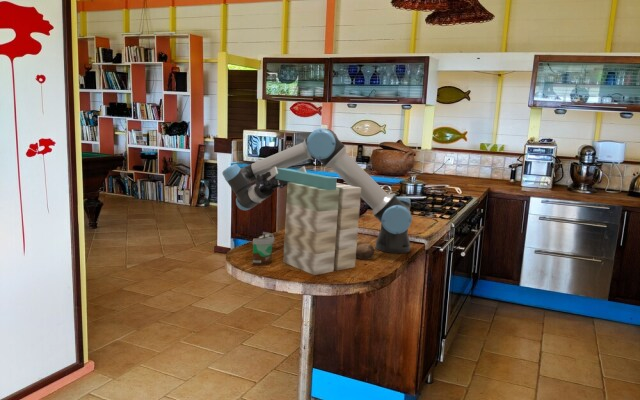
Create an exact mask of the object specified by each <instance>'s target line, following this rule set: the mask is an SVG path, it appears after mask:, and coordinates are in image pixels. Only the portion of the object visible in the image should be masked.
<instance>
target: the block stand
mask: <svg viewBox="0 0 640 400" xmlns="http://www.w3.org/2000/svg"><path fill="white" fill-rule="evenodd" d="M286 191H287V192H286V193H287V194H286V206H285V207H286V209H285V223H284V242H283V243H284V244H283V256H282V257H283V258H282V259H283V261H282V262H283V263H284V264H287V265H290V266H291V267H293V268H297V269H298V270H302V271H303V272H306V273H308V274H309V275H310V274H311V275H313V276H316V275H317V276H318V275H321V274H327V273H331V272H334V270H335V271H337V272H338V271H341V270H346V269H352V268H355V267H356V259H357V257H356V247H357V245H358V233H359V223H360V222H359V220H360V210H361V209H360V208H361V188H360V187H355V186H350V185H348V184H344V183H339V182H337V184H336V190H325V189H321V188H316V187H311V186H307V185H302V184H298V183H288V185H287V186H286Z"/></svg>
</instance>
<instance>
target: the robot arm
mask: <svg viewBox="0 0 640 400" xmlns="http://www.w3.org/2000/svg"><path fill="white" fill-rule="evenodd" d="M346 147H347V146H346V145H345V144H343V142H342V141H341V140H340V139H339V137H338V136H337V134H336V133H335V132H334V131H333V130H331V129H330V128H329V129H328V128H317V129H314V130H313V131H312V132H311V133H310V134H309V135H308V137H306V138H304V140H303V142H300V143H298V144H296V145H293V146H291V147H288V148H286V149H284V150H282V151H279V152H277V153H275V154H272V155H270V156H267V157H265V158H262V159H260V160H257V161H256V162H253V163H250V164H248V165H245V166H243V167H240V166H239V165H238V164H237V163H234V164H232V165H230V166H228V167H226V168H225V169H224V170H223V171H222V176H223V178H224V180H225V181H226V182H227V184H228V185H229V187H230V188H231V190H232V191H233V192H234V194H235V196H236V198H235V204H236V206H237V207H238V209H240V210H241V211H243V212H244V211H245V212H246V211H248V210H251V209H253V208H254V207H256V206H257V205H258V204H261V203H262V202H263V201H265V200H266V199H268V198H269V197H271V196H272V195H273V194H274V193H275V190H277V189H278V188H280V189H283V188H285V187H287V186H288V183H293V182H289V181H284V180H279V179H275V178H274V177H275V175H277V174H278V171H277V168H286V169H289V168H290V167H292V166H295V165H298V164H300V163H302V162H305V161H307V160H309V159H310V160H315V159H317V160H318V161H319V162H320V163H321V164H322V165H323V166H324V167H325V168H331V169H332V170H333V171H334V172H335V173H336V174H337V175H338V177H340V178H341V179H342V180H343V181H344V182H345V183H346V185H350V186H355V187H360V188H361V197H360V199H362V200H363V201H364V202H365V203H366V204H367V205H368V206H369V207H370V208H371V209H372V215H373V216H374V217H375V218H376V219H377V221H379V222H380V223H381V224H380V231H379V233H378V236H377V238H376V240H375V247H374V249H376V250H379V251H381V252H384V253H392V254H405V253H409V252H410V251H411V242H410V238H409V233H408V231H409V228H410V226H411V224H412V221H413V220H412V218H413V215H412V213H411V211H410V210H411V205H412V204H411V199H410V198H409V197H402V196H396V195H395V194H393V193H391V194H389V193H387V192H386V191H385V190H384V189H383V188H382V187H381V186H380V185H379V184H378V182H376V181H375V180H374V179H373V178H372V176H370V175H369V173H367V171H366V170H364V169H363V167H361V166H360V164H358V163H357V162H356V161H355V160H354V158H352V157H351V156H350V155H349V154H348V153H347V151H346V150H347V149H346ZM297 171H302V172H307V170H306V166H305V165H304V166H303V165H302V167H300V168H299V169H297ZM251 183H252V185H251Z"/></svg>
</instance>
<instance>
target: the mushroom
mask: <svg viewBox="0 0 640 400" xmlns="http://www.w3.org/2000/svg"><path fill="white" fill-rule="evenodd" d="M374 255H375V247H373V245H372V244H370V243H367V242H366V243H365V242H364V243H361V244H357V247H356V259H359V260H365V261H366V260H367V261H368V260H370V259H372V258H373V257H374Z"/></svg>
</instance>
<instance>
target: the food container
mask: <svg viewBox="0 0 640 400" xmlns="http://www.w3.org/2000/svg"><path fill="white" fill-rule="evenodd" d="M275 242H276V241H275V236H274V234H273V233H271V232H265V231H262V235H259V236H257V238H253V240H252V265H253V264H255V265H256V266H259V265H260V266H261V265H268V264H270V263H271V260H272V259H271V258H272V252H273V244H274V243H275ZM255 265H254V266H255Z"/></svg>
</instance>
